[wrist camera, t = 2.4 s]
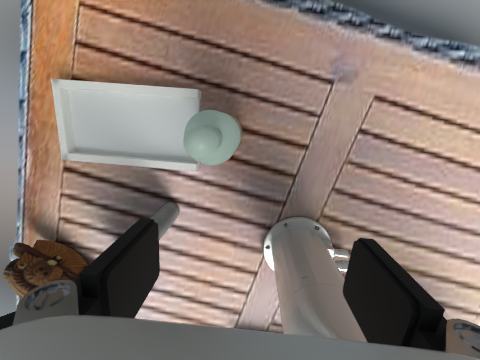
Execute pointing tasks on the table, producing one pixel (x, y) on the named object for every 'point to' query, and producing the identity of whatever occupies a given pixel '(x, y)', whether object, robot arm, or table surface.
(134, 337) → the robot arm
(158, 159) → the white rectangular tray
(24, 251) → the wooden carving
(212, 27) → the table surface
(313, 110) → the table surface
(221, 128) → the bottle
